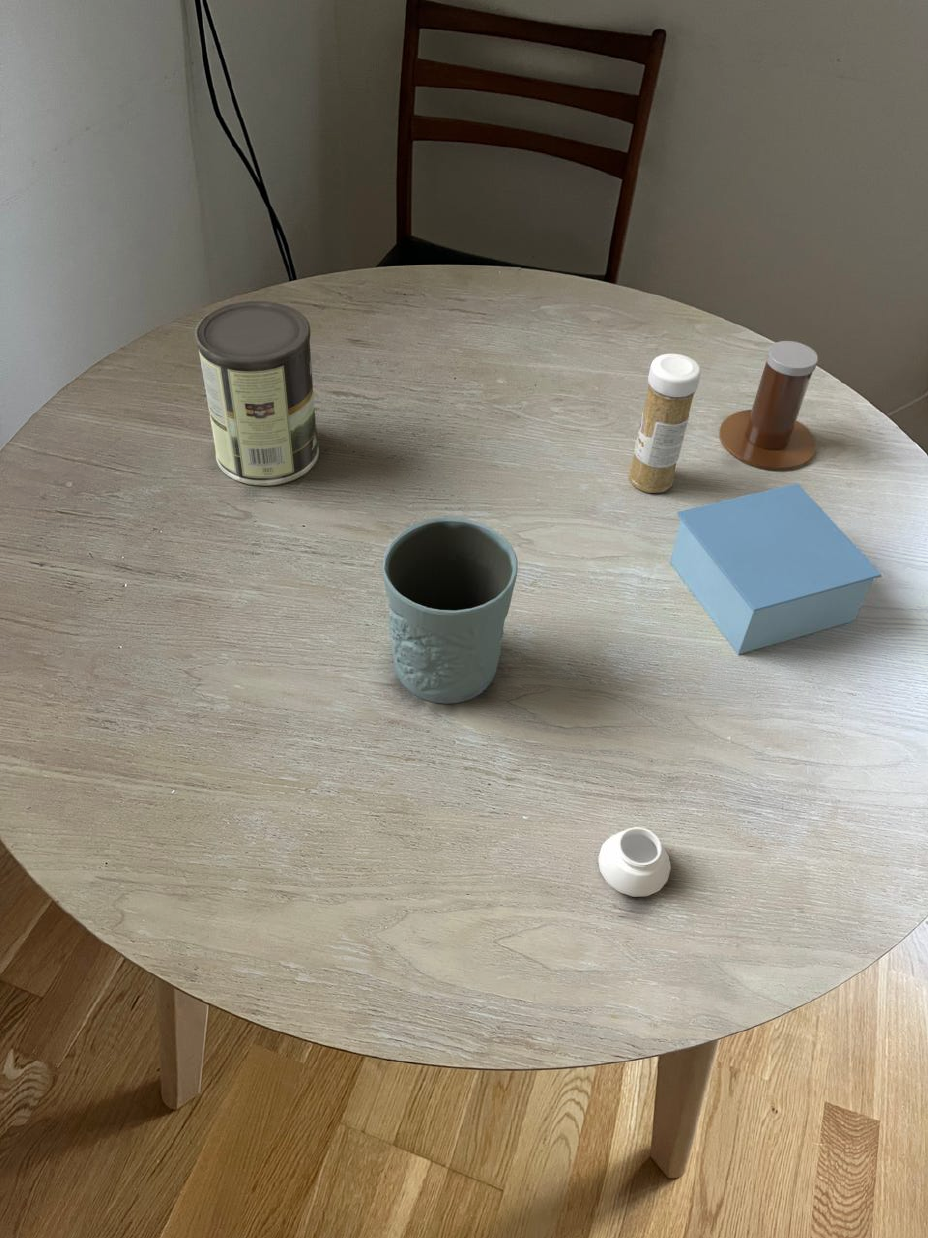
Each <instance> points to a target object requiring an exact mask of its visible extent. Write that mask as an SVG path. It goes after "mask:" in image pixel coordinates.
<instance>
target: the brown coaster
mask: <svg viewBox="0 0 928 1238" xmlns="http://www.w3.org/2000/svg"><path fill="white" fill-rule="evenodd" d="M751 411H752V409H746V410H741V411H737V412H734V413H732V414H730V415H728V416H727V417H726V418H725V419H724V420H723V421H722V423H721V425H720V428H719V432H718V433H719V434H718V436H719V440H720V443H721V444H722V447H723V448H724V449H725V450H726V452H727V453H729V454H730V455H731V456H732V457H734V458H735V459H736V460H739V462H741V463H744V464H747V465H749V466H751V467H754V468H756V469H757V468H758V469H762V470H767V471H777V472H779V471H780V472H782V471H790V470H791V471H792V470H795V469H799V468H801V467H803V466H806V465H807V464H808V463H809V462H810V461H811V460H812V459H813V458H814V455H815V453H816V450H817V443H816V439H815V437H814V435H813V434H812V432H811V431H810V430H809V428H807V426H805V425H804V424H803V423H801V422H800V421H798V419H797V420H796V423H795V426H794V429H793V432H792V435H791V438H790V441H789V443H788V445H787V446H785V447H784V448H782V449H777V450H768V449H763V448H760V447H757V446H755V445H754V444H752V443H751V442H750V441H749V440H748V439H747V437H746V435H745V431H746V428H747V424H748V421H749V418H750V414H751Z"/></svg>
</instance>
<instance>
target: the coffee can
mask: <svg viewBox="0 0 928 1238" xmlns="http://www.w3.org/2000/svg"><path fill="white" fill-rule="evenodd" d="M194 341H195V343H196V346H197V348H198V354H199V358H200V364H201V372H202V377H203V383H204V388H205V395H206V401H207V408H208V413H209V419H210V424H211V431H212V437H213V443H214V449H215V461H216V463H217V466H218V467H219V469H220V470H221V472H222V473H224V474H225V475H226V476H228V477H229V478H231V479H232V480H234V481H236V482H239V483H242V484H245V485H250V486H259V487H260V486H261V487H262V486H263V487H264V486H265V487H267V486H276V485H277V486H278V485H282V484H286V483H289V482H292V481H295V480H297V479H298V478H301V477H302V476H304V475H306V473H308V472H309V471H310V470H311V469H312V468H313V467H314V466H315V464H316V463H317V461H318V459H319V454H320V448H319V444H318V432H317V421H316V420H317V419H316V410H315V409H316V408H315V397H314V396H315V395H314V383H313V368H312V367H313V366H312V356H311V355H312V354H311V353H312V352H311V326H310V322H309V321H308V319H307V318H306V317H305V316H304V314H303V313H301V312H299V311H298V310H297V309H295V308H293V307H291V306H289V305H286V304H283V303H279V302H275V301H274V302H273V301H266V300H248V301H240V302H239V301H238V302H234V303H229V304H226V305H222V306H221V307H218V308H215V309H213V310H212V311H210V312H209V313H207V314H206V315H204V316H203V317H202V318H201V319H200V320H199V322H198V323H197V325H196V327H195V329H194Z"/></svg>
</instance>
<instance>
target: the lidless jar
mask: <svg viewBox="0 0 928 1238" xmlns="http://www.w3.org/2000/svg"><path fill="white" fill-rule="evenodd" d="M597 860H598V866H599V867H598V868H599V872H600V874H601V876H602V877H603V879H604V880H605V882H606V884H608V885H609V886H610V887H611V888H613V889H614V890H616V891H617V892H618V893H619V894H624V895H627V896H630V897H635V898H636V897H649V896H651V895H653V894H655V893H657V892H660V891H661V889H662V888H663V887H664V886H666V884H667V882H668V880H669V877H670V874H671V873H670V872H671V869H672V866H671V861H670V856H669V854H668V852H667V850H666V848H665V847H664V845H663V843H662V842H661V841H660V839H659V837H658V835H656V834H655V833H654V832H653V831H652V830H649V829H648V828H645V827H642V826H632V827H629V828H627V829H624V830H622V831H619V832H617V833H614V834H612V835H610V836H609V837H608V838H607V839H606V840H605V842H603V844H602V845H601V848H600V851H599V855H598V859H597Z"/></svg>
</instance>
